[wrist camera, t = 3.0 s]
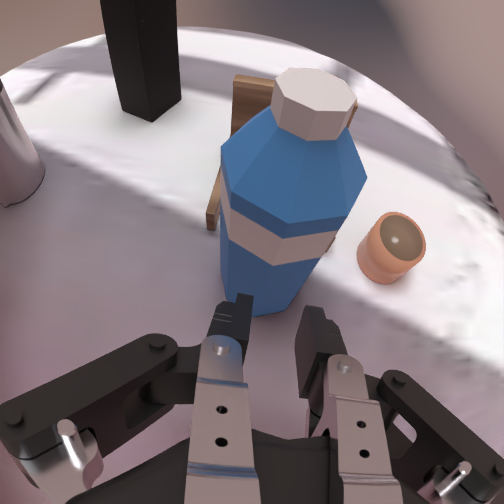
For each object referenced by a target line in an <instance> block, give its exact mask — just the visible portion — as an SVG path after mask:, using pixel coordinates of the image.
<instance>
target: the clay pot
mask: <svg viewBox="0 0 504 504" xmlns="http://www.w3.org/2000/svg"><path fill="white" fill-rule="evenodd" d="M425 250H426V243H425V238H424V235H423V233H422V231H421V229H420V228H419V226H418V225H417V224H416V223H415V222H414V221H413V220H412V219H411V218H409V217H408V216H406V215H404V214H402V213H398V212H388V213H385V214H384V215H382V216H381V217H380V218H379V219H378V221H377V222H376V223H375V225H374V226H373V227H372V228H371V230H370V231H369V232H368V234H367V235H366V236H365V237H364V239H363V240H362V241H361V242H360V244H359V246H358V249H357V261H358V264H359V267H360V269H361V270H362V272H363V273H364V274H365V275H366V276H367V277H368V278H369V279H370V280H372V281H374V282H376V283H379V284H390V283H393V282H394V281H396V280H397V279H398V278H400V277H401V276H402V275H403V274H405V273H406V272H407V271H408V270H410V269H411V268H412V267H413V266H415V265H416V264H417V263H418V262H420V261H421V259H422V258H423V257H424V254H425Z"/></svg>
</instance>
